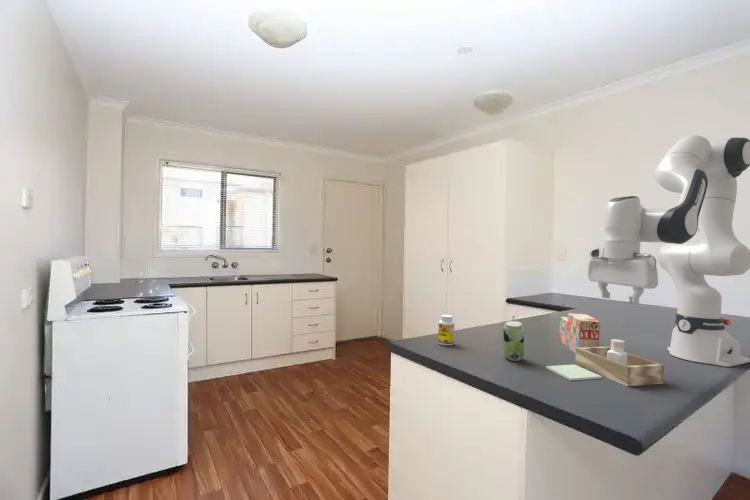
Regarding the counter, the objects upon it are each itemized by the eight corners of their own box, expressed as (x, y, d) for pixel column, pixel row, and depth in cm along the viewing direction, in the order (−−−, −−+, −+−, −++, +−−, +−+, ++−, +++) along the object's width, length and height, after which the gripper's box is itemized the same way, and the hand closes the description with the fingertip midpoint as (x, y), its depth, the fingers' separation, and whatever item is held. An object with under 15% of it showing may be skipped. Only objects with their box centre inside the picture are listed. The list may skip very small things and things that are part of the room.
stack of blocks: (558, 340, 144) (559, 308, 144) (576, 341, 143) (577, 309, 143) (578, 356, 123) (579, 319, 123) (598, 358, 122) (600, 321, 122)
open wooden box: (607, 362, 118) (608, 346, 118) (663, 383, 100) (664, 365, 100) (575, 363, 115) (575, 347, 115) (627, 386, 97) (627, 367, 97)
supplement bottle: (434, 343, 135) (435, 315, 135) (445, 341, 138) (446, 313, 138) (446, 346, 130) (447, 317, 130) (457, 344, 133) (457, 316, 133)
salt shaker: (627, 374, 107) (628, 341, 107) (620, 376, 105) (621, 343, 105) (612, 369, 110) (613, 338, 110) (605, 372, 108) (606, 339, 108)
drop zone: (574, 366, 113) (574, 364, 112) (601, 378, 103) (601, 376, 103) (546, 368, 110) (546, 366, 110) (571, 380, 100) (571, 378, 100)
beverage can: (524, 357, 120) (525, 320, 120) (523, 364, 113) (524, 325, 113) (503, 354, 122) (505, 318, 122) (501, 361, 116) (502, 322, 116)
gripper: (665, 254, 97) (663, 306, 98) (601, 251, 117) (599, 295, 118) (646, 253, 96) (644, 307, 96) (584, 251, 116) (582, 295, 116)
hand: (619, 300), depth 107 cm, fingers open, 8 cm apart
